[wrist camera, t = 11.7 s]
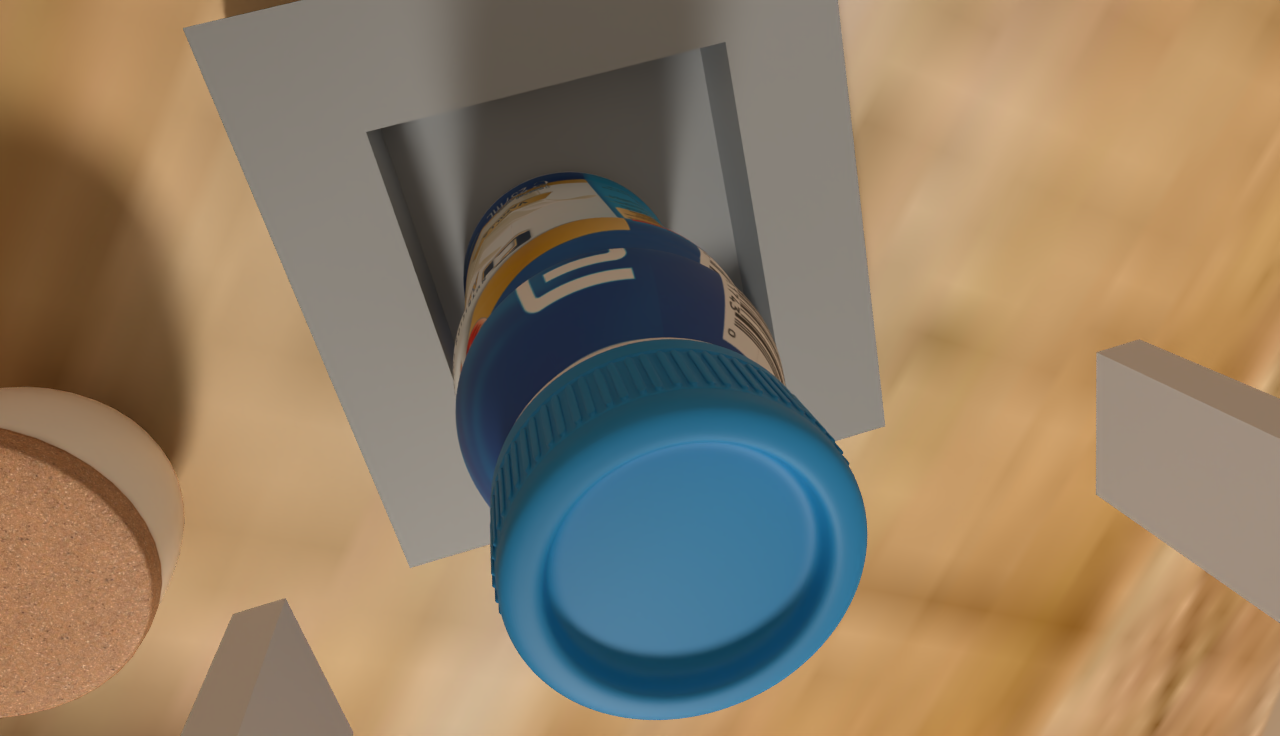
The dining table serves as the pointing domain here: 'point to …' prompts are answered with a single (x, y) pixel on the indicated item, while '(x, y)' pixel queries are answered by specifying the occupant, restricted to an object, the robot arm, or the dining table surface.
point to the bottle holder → (524, 149)
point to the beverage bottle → (642, 460)
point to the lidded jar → (78, 544)
